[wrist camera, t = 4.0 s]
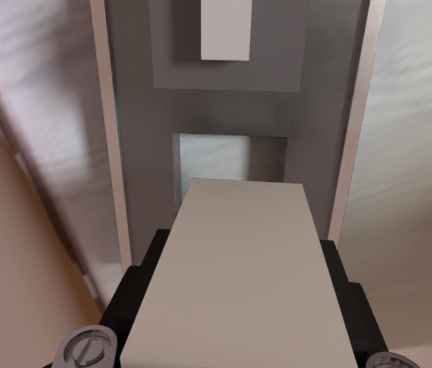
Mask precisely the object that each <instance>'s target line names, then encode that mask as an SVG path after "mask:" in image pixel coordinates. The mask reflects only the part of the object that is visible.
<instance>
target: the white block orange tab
mask: <svg viewBox="0 0 432 368" xmlns="http://www.w3.org/2000/svg"><path fill="white" fill-rule="evenodd" d="M120 362H121V368H358V367H357V363H356V360H355V357H354V353H353V350H352V347H351V344H350V340H349V337H348V334H347V330H346V327H345V324H344V320H343V317H342V314H341V311H340V307H339V304H338V301H337V297H336V294H335V291H334V288H333V284H332V281H331V278H330V274H329V271H328V268H327V265H326V261H325V258H324V255H323V251H322V248H321V245H320V241H319V238H318V235H317V232H316V228H315V225H314V222H313V218H312V215H311V212H310V209H309V205H308V202H307V199H306V195H305V192H304V189H303V186H302V184H294V183H275V182H257V181H238V180H220V179H201V178H192V180H191V182H190V184H189V187H188V189H187V192H186V194H185V197H184V199H183V202H182V204H181V207H180V209H179V212H178V214H177V217H176V219H175V222H174V224H173V227H172V229H171V232H170V234H169V237H168V239H167V242H166V244H165V247H164V249H163V252H162V254H161V257H160V259H159V262H158V264H157V267H156V269H155V271H154V274H153V276H152V279H151V281H150V284H149V286H148V289H147V291H146V294H145V296H144V299H143V301H142V304H141V306H140V309H139V311H138V314H137V316H136V319H135V321H134V324H133V326H132V329H131V331H130V334H129V336H128V339H127V341H126V344H125V346H124V349H123V351H122V353H121V356H120Z"/></svg>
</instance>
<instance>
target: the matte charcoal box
mask: <svg viewBox="0 0 432 368" xmlns="http://www.w3.org/2000/svg"><path fill="white" fill-rule="evenodd" d="M309 3H310V0H149V10H150V28H151V45H152V63H153V80H154V88H172V89H208V90H243V91H278V92H299V90H300V82H301V73H302V64H303V55H304V47H305V38H306V29H307V20H308V12H309Z"/></svg>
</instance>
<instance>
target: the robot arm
mask: <svg viewBox="0 0 432 368" xmlns="http://www.w3.org/2000/svg"><path fill="white" fill-rule="evenodd" d="M170 232H171V229H157V231H156V233H155V235H154V237H153V239H152V242H151V244H150V246H149V248H148V250H147V252H146V254H145V256H144V259H143V261H142V263H141V265H140V266H135V265H131V266H129V267H128V269H127V270H126V272H125V274H124V276H123V278H122V280H121V282H120V284H119V286H118V288H117V290H116V292H115V293H114V295H113V297H112V299H111V301H110V303H109V305H108V307H107V309H106V311H105V313H104V315H103V317H102V319H101V321H100V323H99V324H98V325H91V326H86V327H83V328H80V329H78V330H76V331H75V332H73V333H71V334H70V335H68V336H67V337H66V338H65V339H64V340H63V342H62V343H61V345H60V346H59V348H58V350H57V353H56V356H55V359H54V361H53V362H52V363H51V364H48V365H46V366H45V367H43V368H121V362H120V356H121V353H122V351H123V349H124V346H125V344H126V341H127V339H128V336H129V334H130V331H131V329H132V326H133V324H134V321H135V319H136V316H137V314H138V311H139V309H140V306H141V304H142V301H143V299H144V296H145V294H146V291H147V289H148V286H149V284H150V281H151V279H152V276H153V274H154V271H155V269H156V267H157V264H158V262H159V259H160V257H161V254H162V252H163V249H164V247H165V244H166V242H167V239H168V237H169V234H170ZM319 241H320V245H321V248H322V251H323V255H324V258H325V261H326V265H327V268H328V271H329V274H330V278H331V281H332V284H333V288H334V291H335V294H336V297H337V301H338V304H339V307H340V311H341V314H342V317H343V320H344V324H345V327H346V330H347V334H348V337H349V340H350V344H351V347H352V350H353V353H354V357H355V360H356V363H357V367H358V368H420V367H419V366H418V365H417V364H416V363H414V362H413V361H411V360H409V359H408V358H406V357H404V356H402V355H399V354H396V353H392V352H389V351H388V348H387V346H386V344H385V341H384V339H383V336H382V334H381V332H380V329H379V327H378V324H377V322H376V319H375V317H374V315H373V312H372V310H371V307H370V305H369V302H368V300H367V298H366V295H365V293H364V290H363V288H362V286H361V284H359V283H355V282H349V281H348V278H347V276H346V273H345V270H344V267H343V265H342V262H341V259H340V257H339V254H338V251H337V248H336V246H335V243H334V241H333V240H321V239H319Z"/></svg>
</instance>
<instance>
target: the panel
mask: <svg viewBox="0 0 432 368" xmlns="http://www.w3.org/2000/svg"><path fill="white" fill-rule="evenodd" d="M385 3H386V0H310V3H309V12H308V20H307V29H306V38H305V47H304V55H303V64H302V73H301V82H300V90H299V92H278V91H243V90H208V89H172V88H154V80H153V63H152V45H151V28H150V10H149V0H90V7H91V15H92V23H93V31H94V40H95V48H96V56H97V65H98V73H99V81H100V90H101V98H102V106H103V115H104V123H105V131H106V139H107V148H108V156H109V164H110V173H111V181H112V189H113V198H114V206H115V214H116V222H117V231H118V239H119V247H120V256H121V264H122V272H123V276H124V274H125V272H126V270H127V269H128V267H129V266H131V265H135V266H140V265H141V263H142V261H143V259H144V256H145V254H146V252H147V250H148V248H149V246H150V244H151V242H152V239H153V237H154V235H155V233H156V231H157V229H172V227H173V224H174V222H175V219H176V217H177V214H178V212H179V209H180V207H181V173H180V139H179V133H184V134H212V135H240V136H269V137H283V138H282V148H281V158H280V168H279V178H278V183H294V184H302V186H303V189H304V192H305V195H306V199H307V202H308V205H309V209H310V212H311V215H312V218H313V222H314V225H315V228H316V232H317V235H318V238H319V239H321V240H333V241H334V243H335V246H336V248H337V249H338V243H339V238H340V233H341V228H342V223H343V218H344V213H345V208H346V202H347V197H348V192H349V187H350V182H351V177H352V172H353V167H354V162H355V156H356V151H357V146H358V141H359V136H360V131H361V126H362V121H363V115H364V110H365V105H366V100H367V95H368V90H369V85H370V80H371V75H372V69H373V64H374V59H375V54H376V49H377V44H378V39H379V34H380V29H381V23H382V18H383V13H384V8H385Z"/></svg>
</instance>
